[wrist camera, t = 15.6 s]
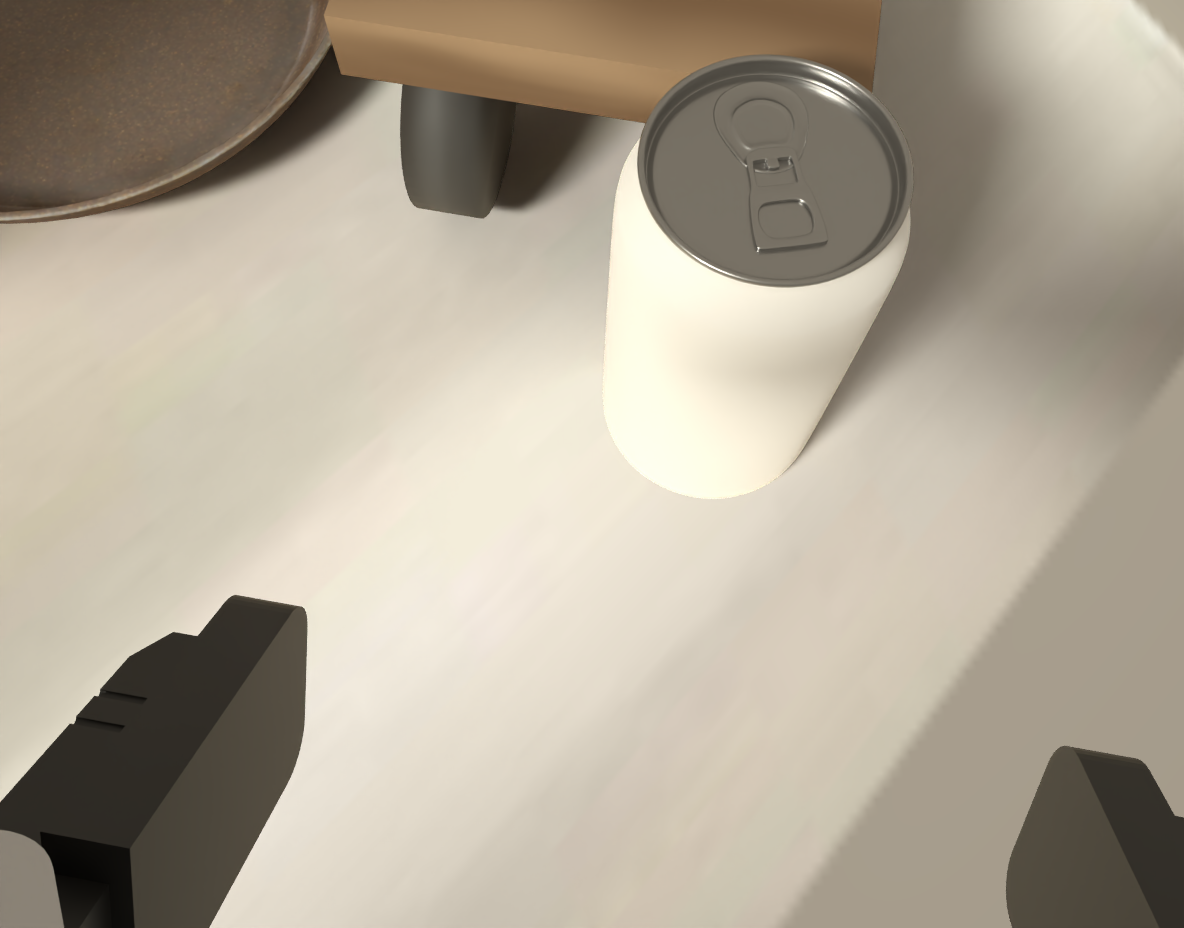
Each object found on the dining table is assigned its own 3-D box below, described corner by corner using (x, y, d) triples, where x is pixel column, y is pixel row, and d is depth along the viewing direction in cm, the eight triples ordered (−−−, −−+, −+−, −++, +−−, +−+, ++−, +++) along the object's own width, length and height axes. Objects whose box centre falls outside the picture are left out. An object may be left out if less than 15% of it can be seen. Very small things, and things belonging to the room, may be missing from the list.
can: (787, 300, 34) (892, 22, 23) (832, 489, 32) (973, 283, 20) (587, 324, 34) (594, 53, 22) (618, 517, 31) (643, 323, 20)
